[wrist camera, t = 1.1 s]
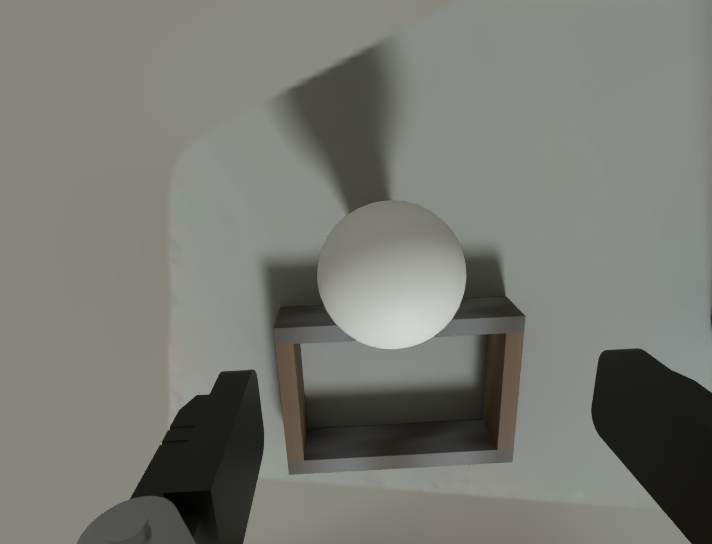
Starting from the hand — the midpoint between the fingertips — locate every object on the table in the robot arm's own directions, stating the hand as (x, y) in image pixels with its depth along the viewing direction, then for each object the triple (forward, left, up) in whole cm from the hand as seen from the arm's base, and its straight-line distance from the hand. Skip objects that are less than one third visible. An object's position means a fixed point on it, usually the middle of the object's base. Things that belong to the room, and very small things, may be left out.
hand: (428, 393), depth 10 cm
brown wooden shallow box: (-1, +9, -17) cm, 19 cm away
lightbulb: (0, 0, -17) cm, 17 cm away
